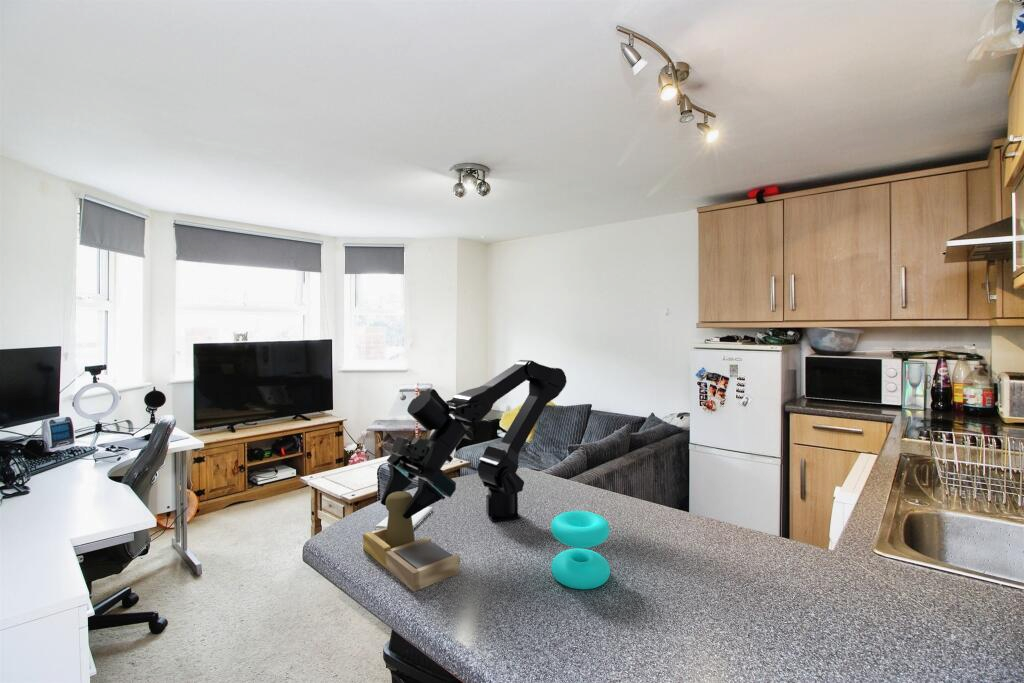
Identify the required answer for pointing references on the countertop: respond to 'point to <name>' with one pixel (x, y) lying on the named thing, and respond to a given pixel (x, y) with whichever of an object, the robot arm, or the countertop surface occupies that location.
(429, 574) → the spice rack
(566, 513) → the donuts
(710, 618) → the countertop surface
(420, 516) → the external hard drive
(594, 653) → the countertop surface
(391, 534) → the olive brown pawn
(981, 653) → the countertop surface
